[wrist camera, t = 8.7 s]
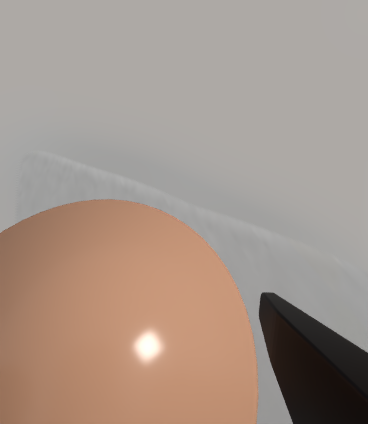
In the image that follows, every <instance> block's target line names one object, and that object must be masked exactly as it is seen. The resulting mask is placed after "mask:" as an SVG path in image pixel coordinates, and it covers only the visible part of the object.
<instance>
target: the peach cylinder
mask: <svg viewBox="0 0 368 424" xmlns="http://www.w3.org/2000/svg"><path fill="white" fill-rule="evenodd" d="M257 407H258V372H257V359H256V352H255V345H254V339H253V334H252V330H251V326H250V322H249V318H248V314H247V311H246V308H245V306H244V303H243V300H242V298H241V295H240V293H239V290H238V288H237V286H236V284H235V282H234V280H233V278H232V277H231V275H230V273H229V271H228V269H227V268H226V266H225V265H224V263H223V262H222V261H221V259H220V258H219V256H218V255H217V253H216V252H215V251H214V250H213V249H212V248H211V247H210V246H209V244H208V243H207V242H206V241H205V240H204V239H203V238H202V237H201V236H200V235H198V234H197V233H196V232H195V231H194V230H193V229H191V228H190V227H189V226H187V225H186V224H184V223H183V222H181V221H180V220H178V219H177V218H175V217H173V216H171V215H169V214H167V213H165V212H163V211H161V210H159V209H156V208H153V207H150V206H147V205H144V204H139V203H135V202H130V201H122V200H111V199H110V200H89V201H81V202H75V203H70V204H66V205H62V206H58V207H55V208H52V209H49V210H46V211H43V212H40V213H38V214H36V215H33V216H31V217H29V218H27V219H24V220H22V221H20V222H19V223H17V224H15V225H13V226H11V227H10V228H8V229H6V230H4V231H3V232H1V233H0V424H256V421H257Z"/></svg>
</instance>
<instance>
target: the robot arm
mask: <svg viewBox="0 0 368 424" xmlns="http://www.w3.org/2000/svg"><path fill="white" fill-rule="evenodd" d="M259 319H260V323H261V327H262V331H263V335H264V339H265V343H266V347H267V351H268V354H269V358H270V362H271V365H272V368H273V371H274V373H275V376H276V379H277V381H278V384H279V387H280V389H281V392H282V395H283V398H284V400H285V403H286V406H287V408H288V411H289V414H290V416H291V419H292V422H293V424H368V353H367V352H366V351H364V350H362V349H361V348H359V347H358V346H356V345H355V344H353V343H352V342H350V341H348V340H347V339H345V338H344V337H342V336H341V335H339V334H337V333H336V332H334V331H333V330H331V329H330V328H328V327H326V326H325V325H323V324H322V323H320V322H319V321H317V320H315V319H314V318H312V317H311V316H309V315H308V314H306V313H304V312H303V311H301V310H300V309H298V308H297V307H295V306H293V305H292V304H290V303H289V302H287V301H286V300H284V299H282V298H281V297H279V296H278V295H276V294H275V293H267V292H264V293H262V294H261V298H260V307H259Z"/></svg>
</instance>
